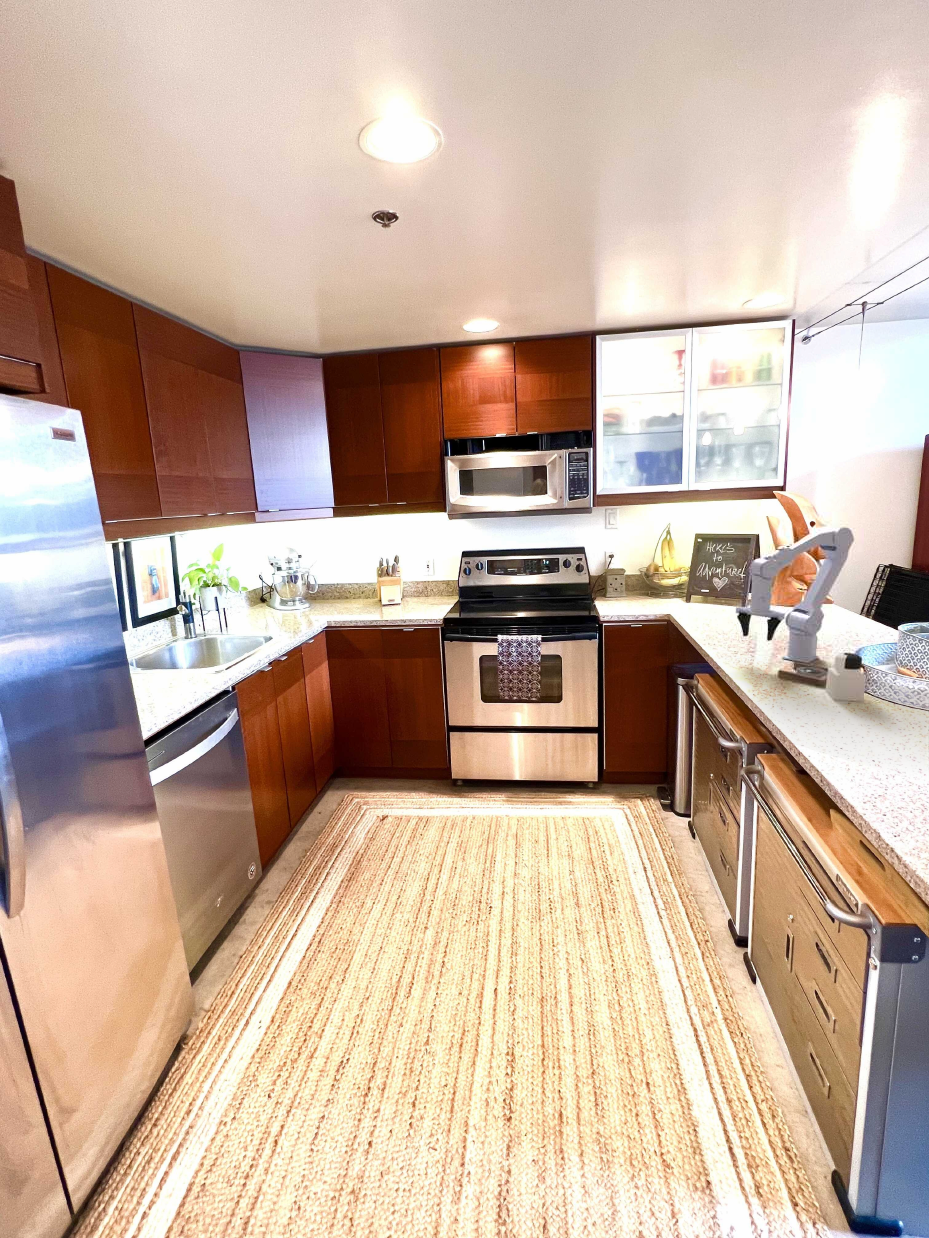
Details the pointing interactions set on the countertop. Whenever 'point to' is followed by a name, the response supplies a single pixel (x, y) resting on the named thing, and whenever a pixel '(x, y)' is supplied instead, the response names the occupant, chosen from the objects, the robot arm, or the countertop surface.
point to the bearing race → (811, 671)
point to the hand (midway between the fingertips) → (757, 637)
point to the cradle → (804, 678)
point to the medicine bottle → (846, 678)
